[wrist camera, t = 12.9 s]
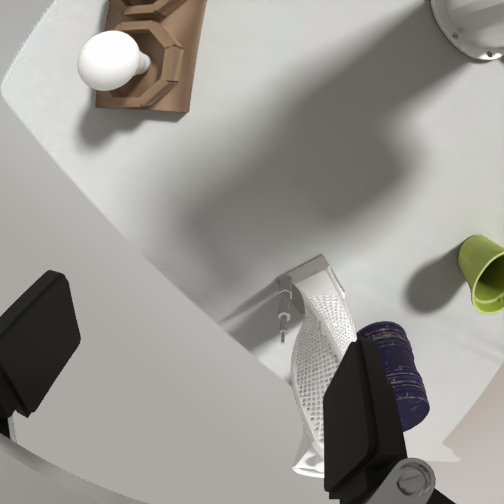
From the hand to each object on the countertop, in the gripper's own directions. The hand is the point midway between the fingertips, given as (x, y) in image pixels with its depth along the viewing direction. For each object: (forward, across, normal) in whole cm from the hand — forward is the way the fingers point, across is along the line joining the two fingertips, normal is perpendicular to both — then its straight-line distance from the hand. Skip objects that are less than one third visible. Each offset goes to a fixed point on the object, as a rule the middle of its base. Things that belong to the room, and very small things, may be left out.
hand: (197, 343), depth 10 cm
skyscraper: (+31, -10, +16) cm, 36 cm away
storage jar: (+31, -23, +25) cm, 46 cm away
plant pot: (+31, -32, +6) cm, 45 cm away
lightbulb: (+28, +16, -10) cm, 34 cm away
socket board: (+30, +16, -15) cm, 37 cm away
